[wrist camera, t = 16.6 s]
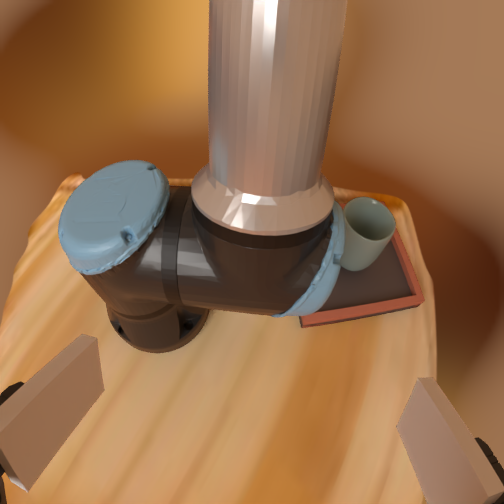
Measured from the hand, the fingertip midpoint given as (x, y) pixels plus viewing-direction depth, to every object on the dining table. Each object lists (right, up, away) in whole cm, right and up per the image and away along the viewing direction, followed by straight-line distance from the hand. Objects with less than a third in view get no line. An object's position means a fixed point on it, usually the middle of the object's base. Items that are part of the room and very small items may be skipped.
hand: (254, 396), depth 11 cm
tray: (+15, +4, +38) cm, 42 cm away
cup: (+15, +5, +37) cm, 41 cm away
